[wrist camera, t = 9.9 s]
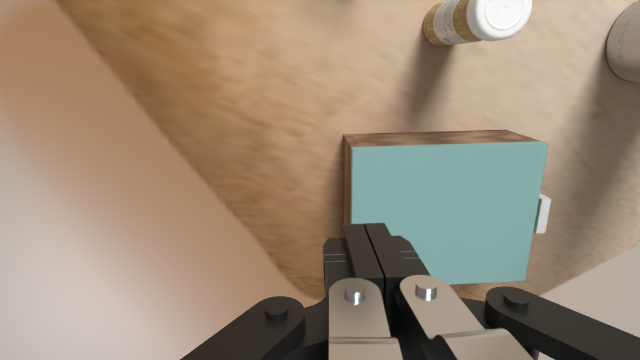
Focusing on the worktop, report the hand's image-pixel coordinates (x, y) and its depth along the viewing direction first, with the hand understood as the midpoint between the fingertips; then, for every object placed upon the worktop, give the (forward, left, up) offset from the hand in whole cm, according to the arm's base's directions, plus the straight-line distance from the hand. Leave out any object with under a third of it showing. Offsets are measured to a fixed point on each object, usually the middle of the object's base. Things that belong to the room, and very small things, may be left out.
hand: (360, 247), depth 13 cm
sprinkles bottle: (-14, -10, -32) cm, 37 cm away
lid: (-14, +10, -26) cm, 31 cm away
